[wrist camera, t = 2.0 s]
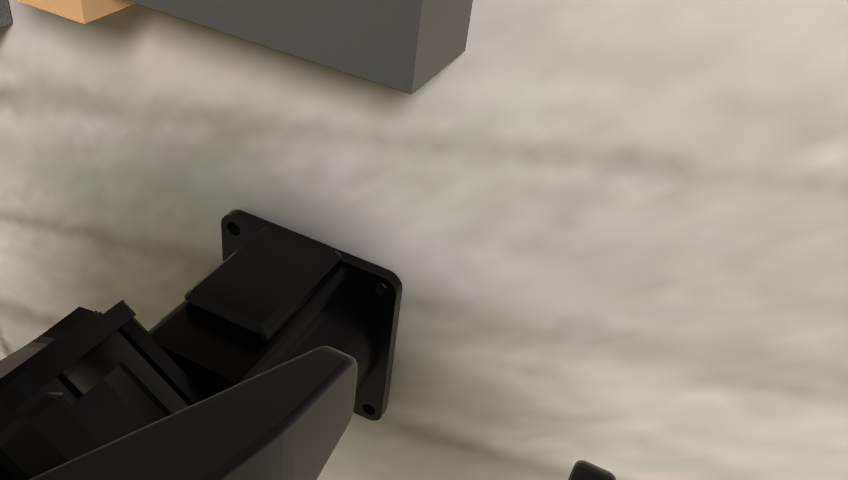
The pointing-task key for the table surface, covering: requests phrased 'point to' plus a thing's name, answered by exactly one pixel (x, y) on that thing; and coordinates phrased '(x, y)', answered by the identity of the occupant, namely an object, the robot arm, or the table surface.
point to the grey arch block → (4, 13)
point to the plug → (323, 30)
